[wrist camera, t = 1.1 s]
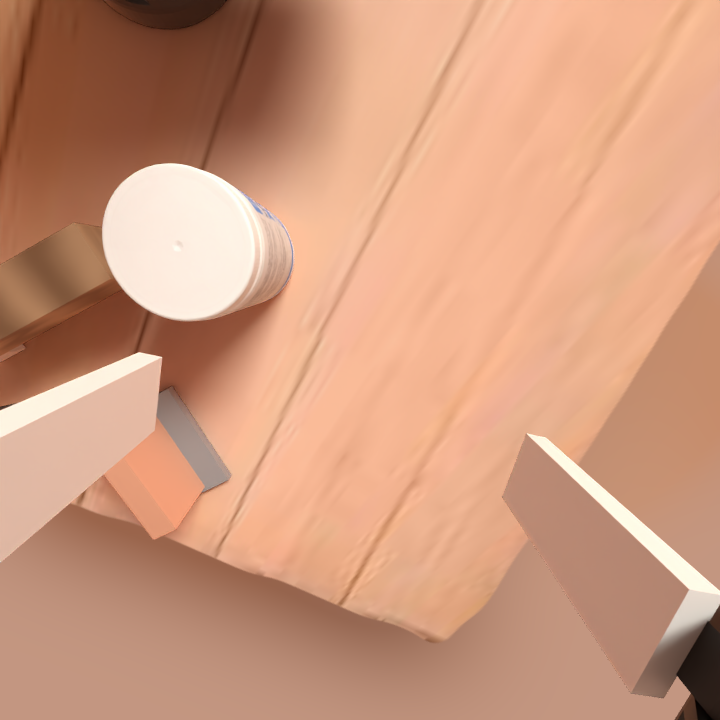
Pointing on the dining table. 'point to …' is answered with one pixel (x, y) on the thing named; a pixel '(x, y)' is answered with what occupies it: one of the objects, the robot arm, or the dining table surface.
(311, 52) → the dining table surface
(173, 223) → the supplement tub
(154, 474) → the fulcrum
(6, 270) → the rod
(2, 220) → the dining table surface
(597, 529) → the robot arm
